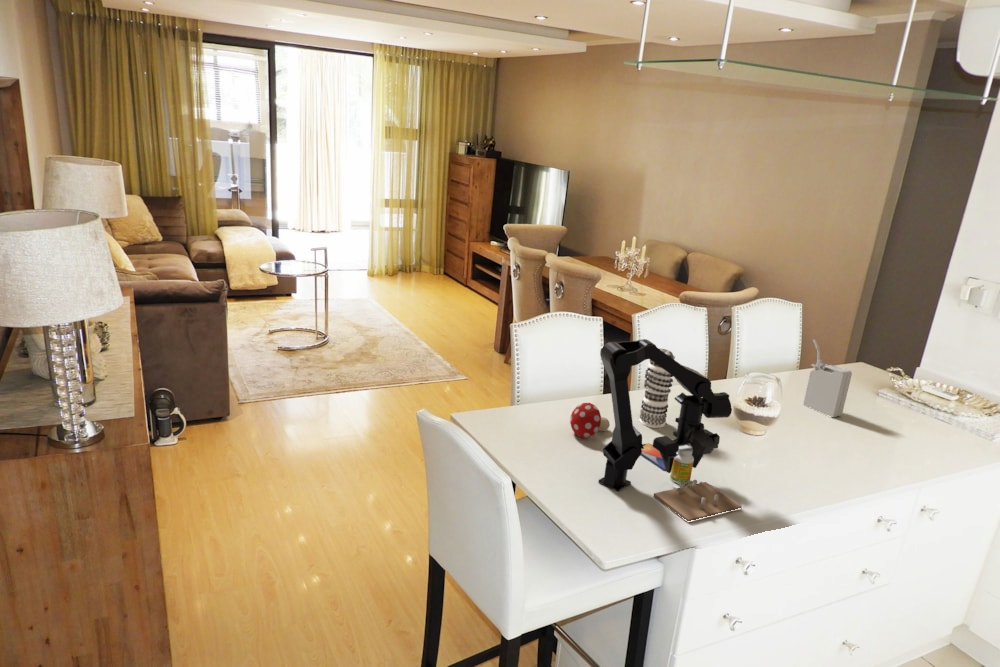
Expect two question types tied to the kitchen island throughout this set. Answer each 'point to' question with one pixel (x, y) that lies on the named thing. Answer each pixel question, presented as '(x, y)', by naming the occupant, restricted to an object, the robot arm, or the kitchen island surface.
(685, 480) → the supplement bottle
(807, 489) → the kitchen island surface
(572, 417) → the decorative mushroom
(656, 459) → the smartphone
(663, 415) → the decorative candle
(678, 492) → the pin tray
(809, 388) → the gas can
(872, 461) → the kitchen island surface
